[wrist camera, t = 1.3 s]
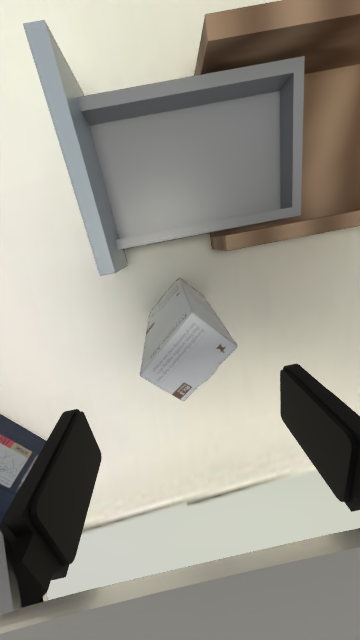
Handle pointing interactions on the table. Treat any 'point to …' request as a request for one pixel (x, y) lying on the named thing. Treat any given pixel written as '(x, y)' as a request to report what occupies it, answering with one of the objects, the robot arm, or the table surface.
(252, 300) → the table surface
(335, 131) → the housing
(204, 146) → the tray
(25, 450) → the vhs cassette tape
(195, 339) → the skincare box
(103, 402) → the table surface
